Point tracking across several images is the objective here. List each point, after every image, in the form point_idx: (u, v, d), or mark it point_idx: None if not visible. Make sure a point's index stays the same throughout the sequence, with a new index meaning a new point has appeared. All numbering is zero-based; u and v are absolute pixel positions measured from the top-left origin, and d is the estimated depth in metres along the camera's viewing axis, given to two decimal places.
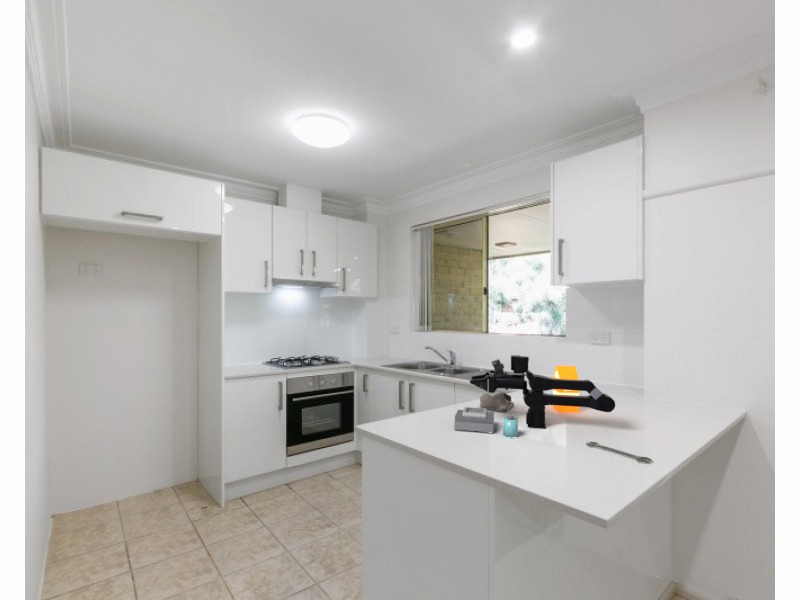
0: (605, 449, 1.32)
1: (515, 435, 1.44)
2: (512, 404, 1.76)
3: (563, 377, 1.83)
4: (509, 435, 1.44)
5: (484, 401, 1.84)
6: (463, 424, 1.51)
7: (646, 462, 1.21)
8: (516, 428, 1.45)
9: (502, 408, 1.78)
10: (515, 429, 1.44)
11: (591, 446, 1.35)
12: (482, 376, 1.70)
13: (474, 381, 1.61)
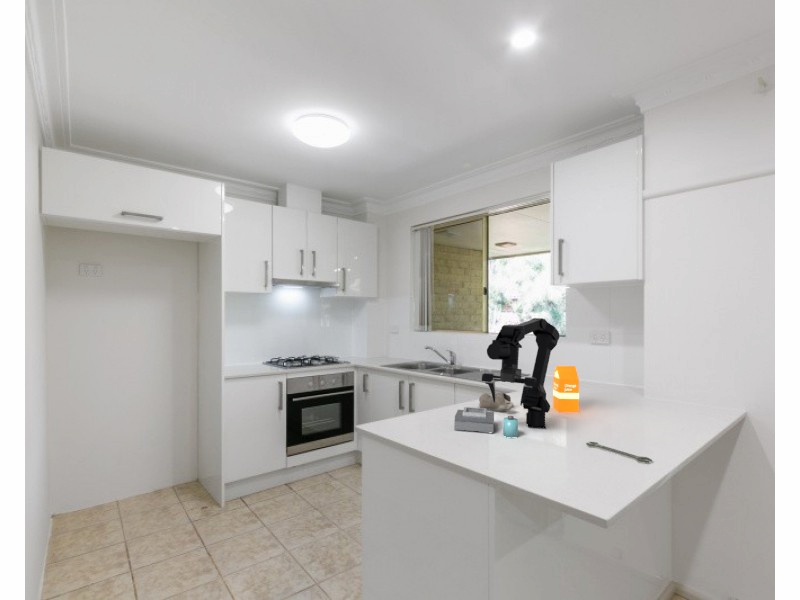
0: (605, 449, 1.32)
1: (515, 435, 1.44)
2: (511, 404, 1.76)
3: (563, 377, 1.83)
4: (509, 435, 1.44)
5: (483, 401, 1.84)
6: (463, 424, 1.51)
7: (646, 462, 1.21)
8: (516, 428, 1.45)
9: (501, 408, 1.78)
10: (515, 429, 1.44)
11: (591, 446, 1.35)
12: (494, 389, 1.48)
13: (522, 400, 1.46)
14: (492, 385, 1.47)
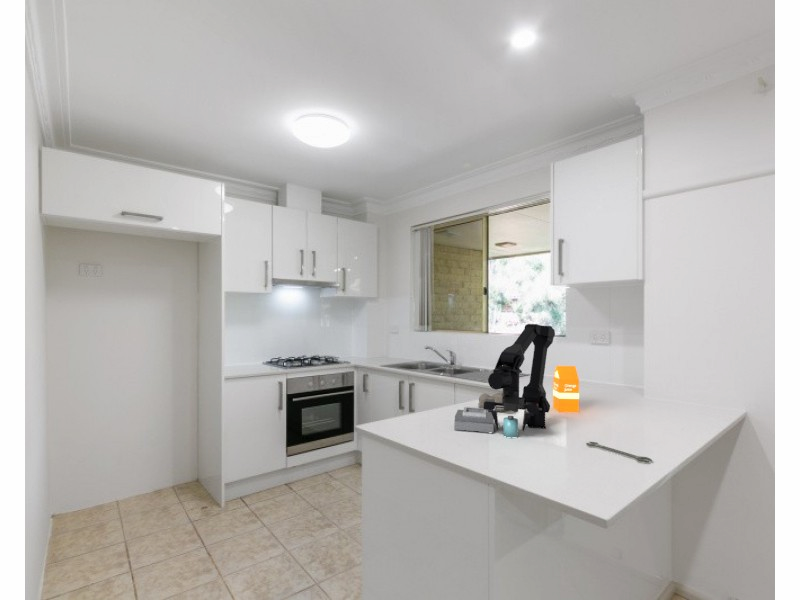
0: (605, 449, 1.32)
1: (515, 435, 1.44)
2: None
3: (563, 377, 1.83)
4: (509, 435, 1.44)
5: (482, 401, 1.84)
6: (463, 424, 1.51)
7: (646, 462, 1.21)
8: (516, 428, 1.45)
9: (500, 408, 1.78)
10: (515, 429, 1.44)
11: (591, 446, 1.35)
12: (497, 417, 1.47)
13: None
14: (495, 413, 1.46)
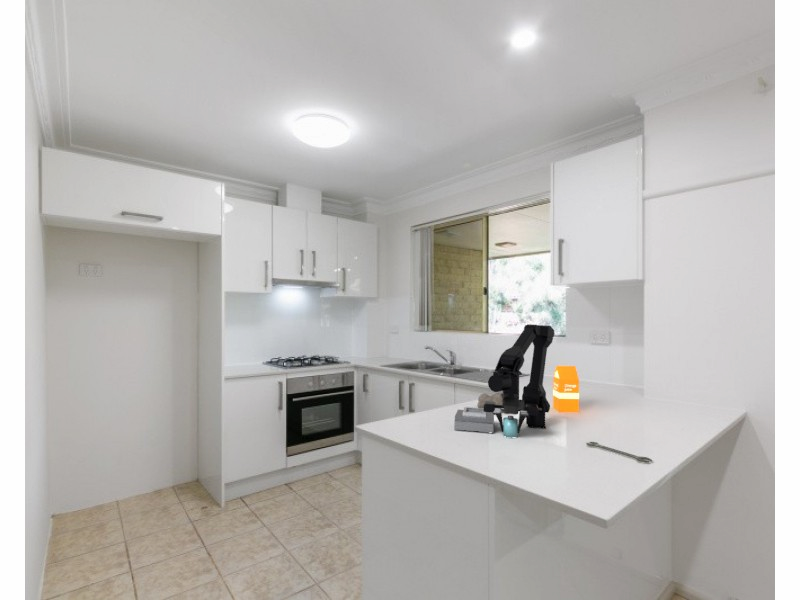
0: (605, 449, 1.32)
1: (515, 435, 1.44)
2: None
3: (563, 377, 1.83)
4: (509, 435, 1.44)
5: (481, 401, 1.84)
6: (463, 424, 1.51)
7: (646, 462, 1.21)
8: (516, 428, 1.45)
9: None
10: (515, 429, 1.44)
11: (591, 446, 1.35)
12: None
13: None
14: (500, 416, 1.45)
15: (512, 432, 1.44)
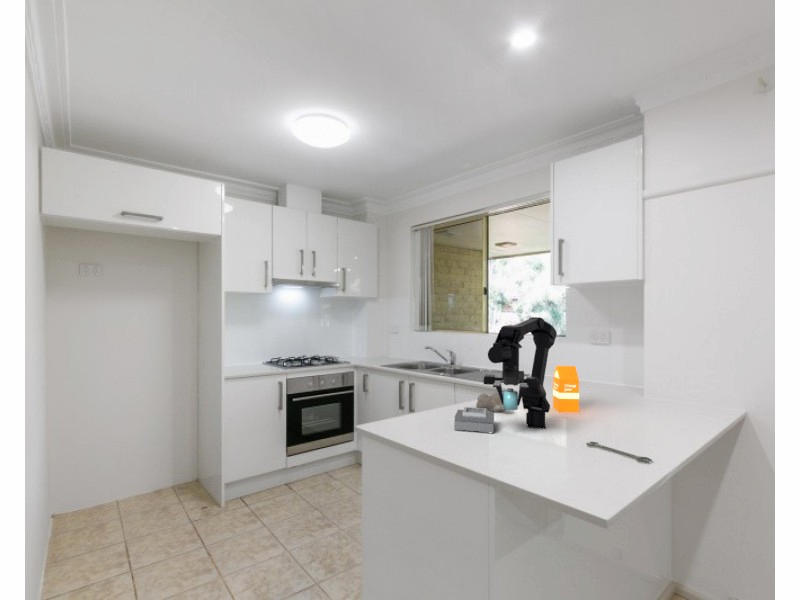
0: (605, 449, 1.32)
1: (515, 407, 1.45)
2: None
3: (563, 377, 1.83)
4: (509, 407, 1.45)
5: (480, 401, 1.84)
6: (463, 424, 1.51)
7: (646, 462, 1.21)
8: (516, 400, 1.45)
9: (497, 408, 1.78)
10: (515, 401, 1.45)
11: (591, 446, 1.35)
12: None
13: None
14: (500, 388, 1.46)
15: (512, 404, 1.44)
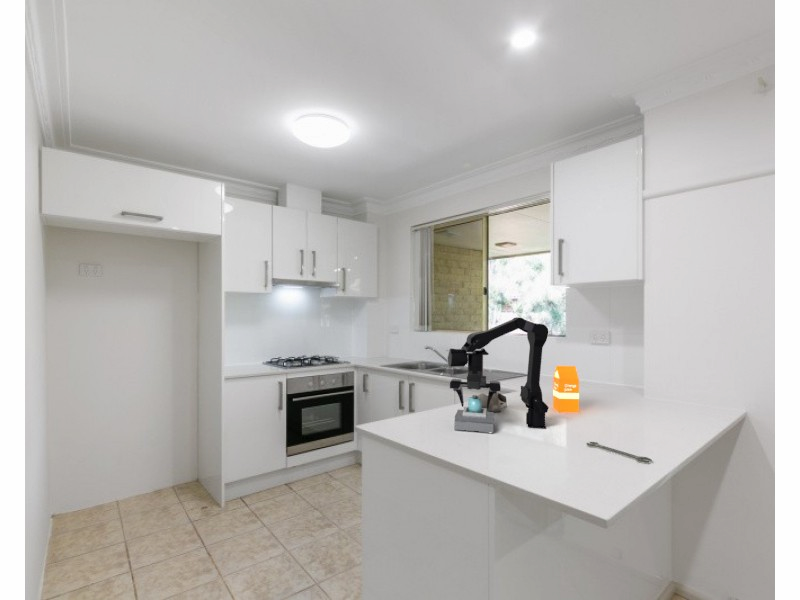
0: (605, 449, 1.32)
1: None
2: (504, 404, 1.75)
3: (563, 377, 1.83)
4: None
5: None
6: (463, 424, 1.51)
7: (646, 462, 1.21)
8: (480, 406, 1.55)
9: (495, 408, 1.78)
10: (479, 408, 1.54)
11: (591, 446, 1.35)
12: (462, 395, 1.57)
13: (488, 403, 1.55)
14: (460, 391, 1.56)
15: (476, 410, 1.54)
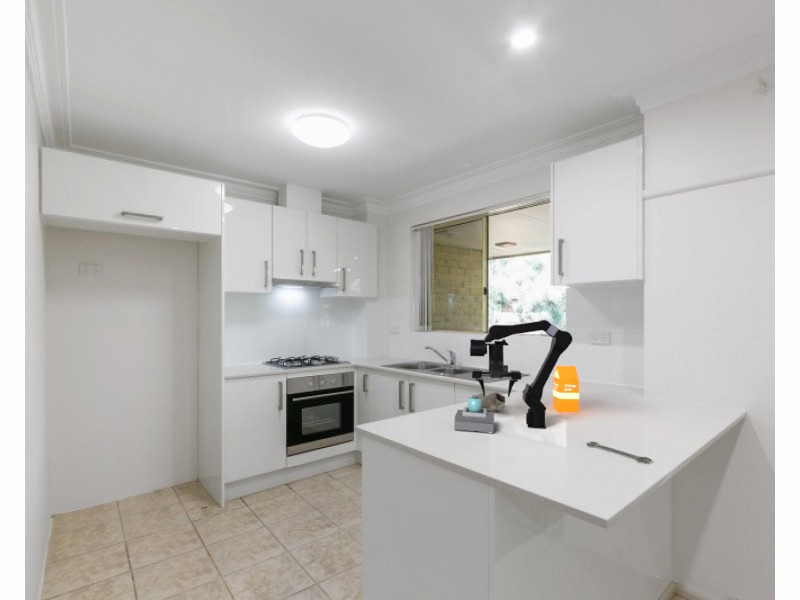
0: (605, 449, 1.32)
1: None
2: (502, 405, 1.75)
3: (563, 377, 1.83)
4: None
5: None
6: (463, 424, 1.51)
7: (646, 462, 1.21)
8: (480, 406, 1.55)
9: (493, 408, 1.77)
10: (479, 408, 1.54)
11: (591, 446, 1.35)
12: (483, 384, 1.63)
13: None
14: (482, 381, 1.61)
15: (476, 410, 1.54)
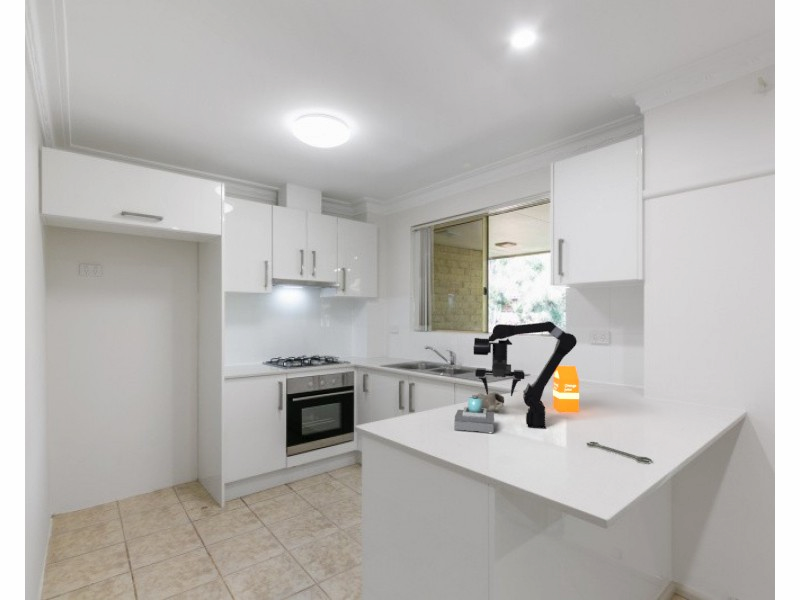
0: (605, 449, 1.32)
1: None
2: (501, 405, 1.75)
3: (563, 377, 1.83)
4: None
5: None
6: (463, 424, 1.51)
7: (646, 462, 1.21)
8: (480, 406, 1.55)
9: (491, 408, 1.77)
10: (479, 408, 1.54)
11: (591, 446, 1.35)
12: None
13: None
14: (485, 379, 1.62)
15: (476, 410, 1.54)
